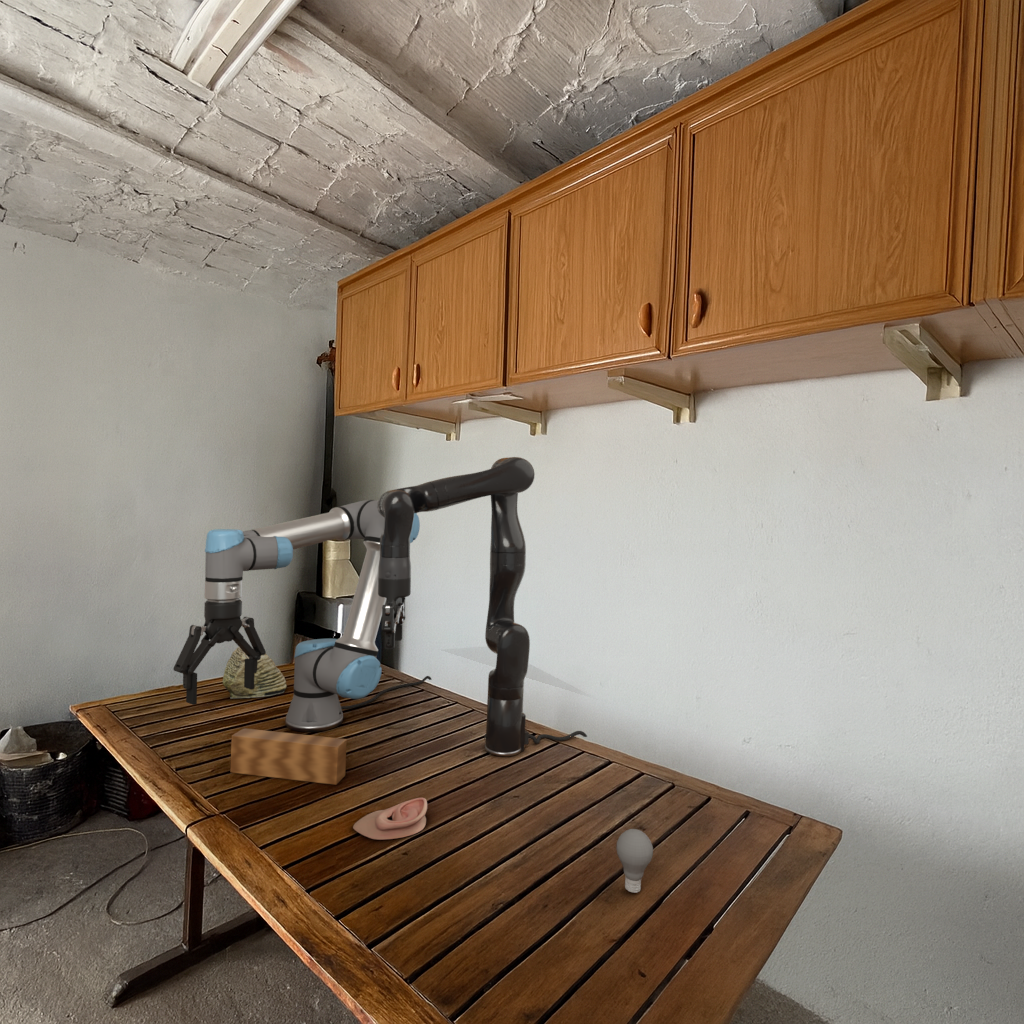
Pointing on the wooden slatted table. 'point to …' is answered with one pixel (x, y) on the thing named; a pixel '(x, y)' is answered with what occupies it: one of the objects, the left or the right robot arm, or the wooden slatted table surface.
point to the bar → (288, 756)
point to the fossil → (265, 678)
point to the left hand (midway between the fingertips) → (221, 695)
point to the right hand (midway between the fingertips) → (393, 644)
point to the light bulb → (634, 857)
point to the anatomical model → (394, 821)
